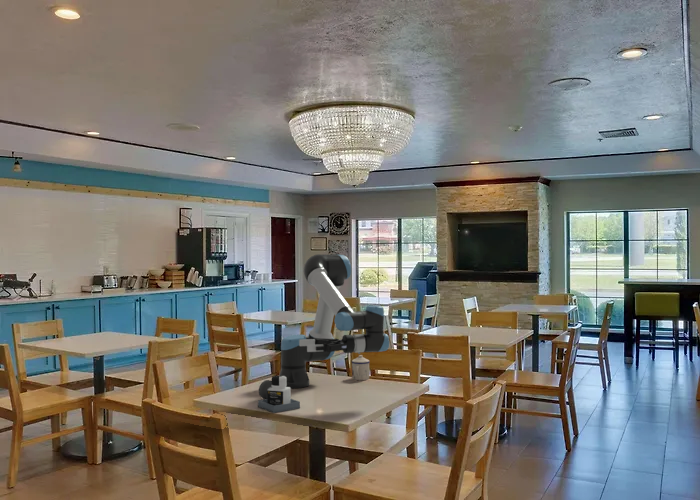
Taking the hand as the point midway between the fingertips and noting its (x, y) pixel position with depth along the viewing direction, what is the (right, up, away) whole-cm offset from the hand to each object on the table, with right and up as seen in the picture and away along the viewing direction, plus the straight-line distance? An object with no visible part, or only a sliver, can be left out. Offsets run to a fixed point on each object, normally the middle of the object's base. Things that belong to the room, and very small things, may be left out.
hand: (303, 345), depth 248 cm
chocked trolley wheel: (-15, -25, +12) cm, 31 cm away
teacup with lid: (+24, -26, +55) cm, 65 cm away
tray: (-10, -25, -3) cm, 27 cm away
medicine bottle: (-10, -24, -2) cm, 26 cm away
